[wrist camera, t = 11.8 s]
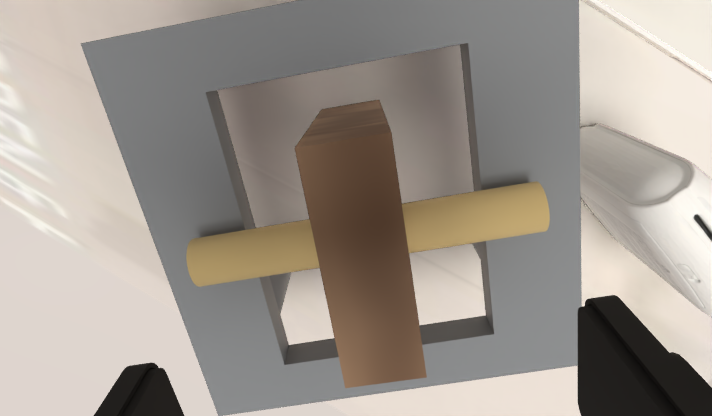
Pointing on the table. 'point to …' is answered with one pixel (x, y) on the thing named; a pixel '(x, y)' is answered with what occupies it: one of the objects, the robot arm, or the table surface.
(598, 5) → the phone case
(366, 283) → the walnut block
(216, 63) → the grey open-frame table
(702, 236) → the photo printer
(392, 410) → the table surface
